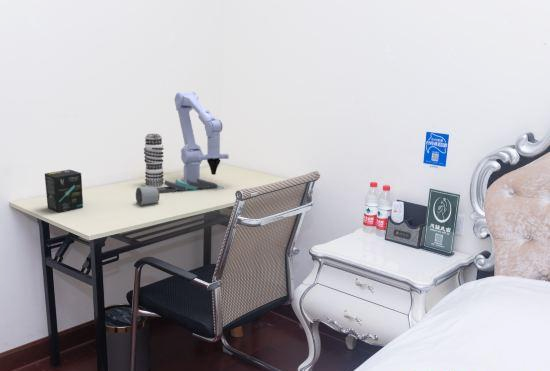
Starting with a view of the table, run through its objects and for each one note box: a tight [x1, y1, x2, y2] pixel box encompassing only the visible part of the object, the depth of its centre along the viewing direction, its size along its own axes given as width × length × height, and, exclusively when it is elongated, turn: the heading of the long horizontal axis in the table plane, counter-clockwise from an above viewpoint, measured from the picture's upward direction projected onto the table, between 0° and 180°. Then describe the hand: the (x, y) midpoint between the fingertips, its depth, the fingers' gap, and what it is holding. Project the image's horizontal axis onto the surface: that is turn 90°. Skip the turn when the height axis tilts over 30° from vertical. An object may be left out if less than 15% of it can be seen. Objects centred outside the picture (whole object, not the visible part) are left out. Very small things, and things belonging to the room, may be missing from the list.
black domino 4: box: [196, 178, 219, 189], centre depth 248 cm, size 2×5×9 cm
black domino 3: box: [186, 179, 208, 189], centre depth 246 cm, size 2×5×9 cm
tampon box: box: [44, 169, 84, 214], centre depth 210 cm, size 11×9×15 cm
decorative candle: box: [143, 133, 165, 188], centre depth 247 cm, size 9×9×25 cm
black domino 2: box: [163, 179, 186, 191], centre depth 241 cm, size 2×5×9 cm
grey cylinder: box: [135, 186, 160, 206], centre depth 221 cm, size 11×8×8 cm
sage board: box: [171, 184, 227, 194], centre depth 247 cm, size 8×26×1 cm, turn 116°
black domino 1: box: [156, 186, 176, 195], centre depth 240 cm, size 2×5×9 cm
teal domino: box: [174, 179, 197, 190], centre depth 244 cm, size 2×5×9 cm
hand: (213, 174), depth 248 cm, fingers closed
